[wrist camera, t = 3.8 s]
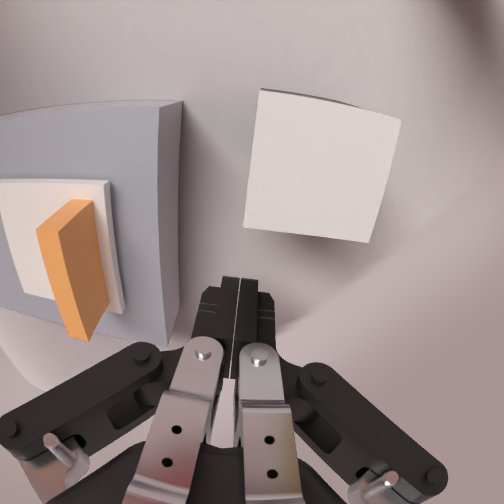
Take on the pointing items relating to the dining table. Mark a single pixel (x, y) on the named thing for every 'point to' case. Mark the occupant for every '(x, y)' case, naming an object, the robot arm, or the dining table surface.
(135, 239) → the socket block
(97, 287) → the shutter
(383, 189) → the plug
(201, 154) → the dining table surface
